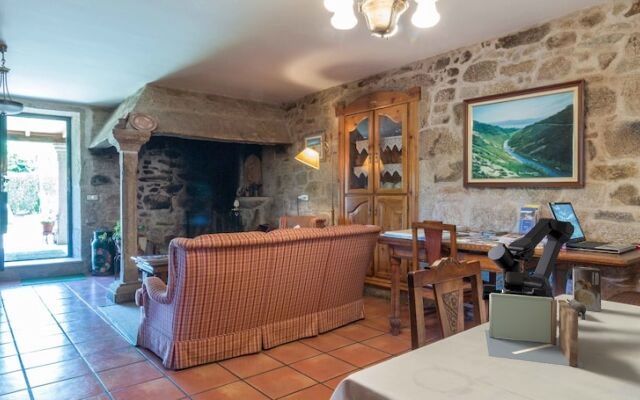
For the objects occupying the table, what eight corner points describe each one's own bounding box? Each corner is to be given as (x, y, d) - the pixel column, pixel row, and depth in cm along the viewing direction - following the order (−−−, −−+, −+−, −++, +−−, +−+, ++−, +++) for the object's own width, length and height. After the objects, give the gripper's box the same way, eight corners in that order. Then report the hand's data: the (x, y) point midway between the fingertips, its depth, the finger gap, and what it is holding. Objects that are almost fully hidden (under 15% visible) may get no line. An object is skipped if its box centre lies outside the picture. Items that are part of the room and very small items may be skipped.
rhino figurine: (574, 311, 159) (574, 295, 159) (588, 321, 145) (588, 304, 145) (562, 310, 160) (562, 294, 160) (575, 320, 146) (575, 303, 146)
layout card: (485, 331, 134) (485, 329, 134) (563, 339, 127) (563, 338, 127) (488, 357, 112) (488, 355, 112) (583, 369, 105) (583, 367, 105)
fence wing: (489, 335, 128) (489, 292, 128) (555, 343, 122) (556, 297, 122) (489, 337, 126) (489, 293, 126) (556, 345, 120) (557, 299, 120)
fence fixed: (557, 346, 120) (558, 298, 120) (564, 346, 120) (565, 298, 119) (570, 366, 106) (571, 312, 105) (578, 367, 105) (579, 313, 105)
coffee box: (599, 308, 163) (599, 268, 163) (601, 312, 157) (601, 270, 157) (572, 305, 167) (572, 266, 167) (573, 309, 161) (573, 268, 161)
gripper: (482, 259, 134) (483, 301, 124) (547, 263, 128) (553, 307, 117) (481, 279, 141) (482, 320, 131) (542, 283, 135) (548, 327, 125)
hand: (515, 318), depth 126 cm, fingers closed
